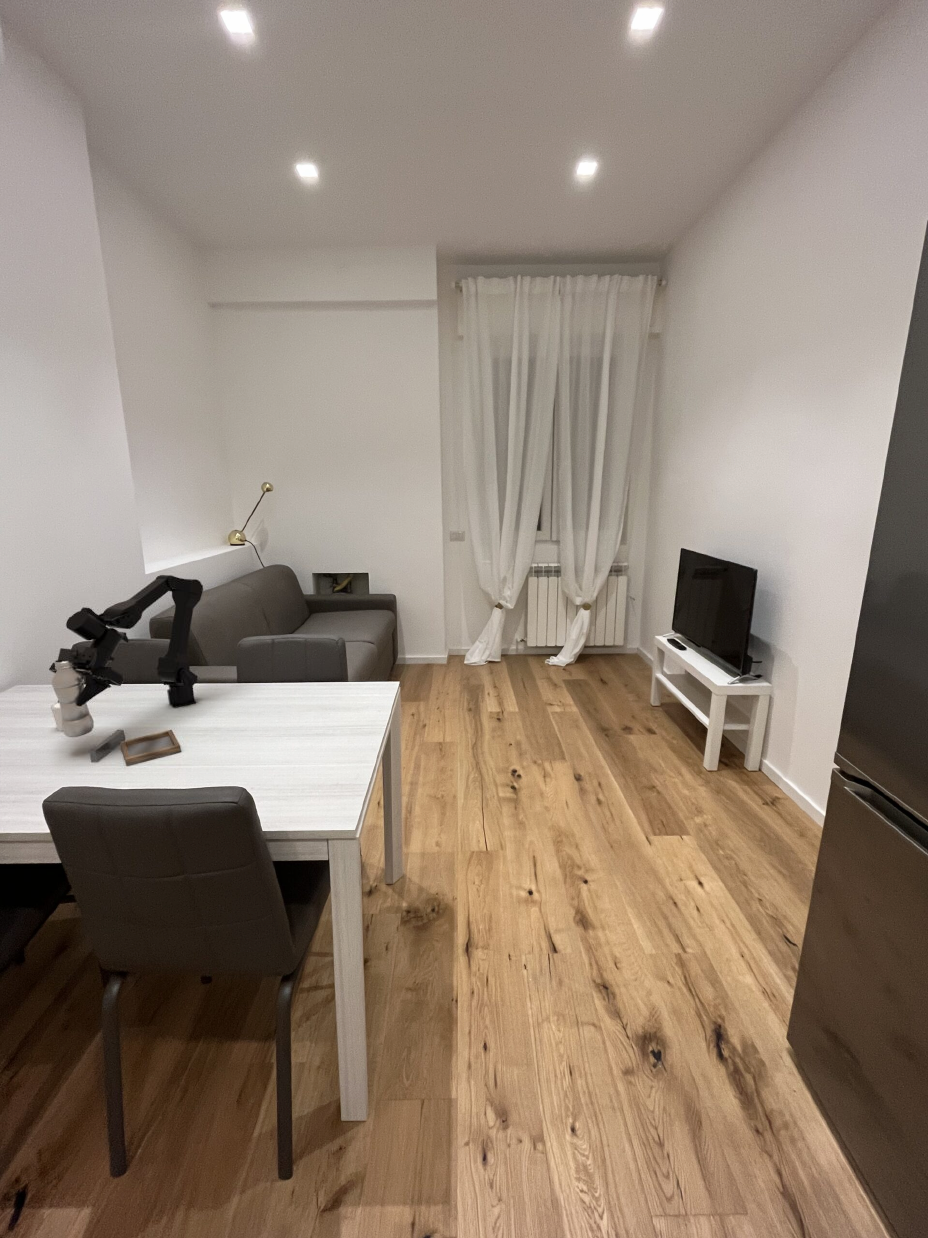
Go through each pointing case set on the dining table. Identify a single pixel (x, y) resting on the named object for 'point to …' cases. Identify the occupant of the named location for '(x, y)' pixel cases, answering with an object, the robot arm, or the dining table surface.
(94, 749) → the bar
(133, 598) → the robot arm
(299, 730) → the dining table surface
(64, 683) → the plastic bottle
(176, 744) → the wooden tray
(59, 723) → the white tapered cup
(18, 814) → the dining table surface
